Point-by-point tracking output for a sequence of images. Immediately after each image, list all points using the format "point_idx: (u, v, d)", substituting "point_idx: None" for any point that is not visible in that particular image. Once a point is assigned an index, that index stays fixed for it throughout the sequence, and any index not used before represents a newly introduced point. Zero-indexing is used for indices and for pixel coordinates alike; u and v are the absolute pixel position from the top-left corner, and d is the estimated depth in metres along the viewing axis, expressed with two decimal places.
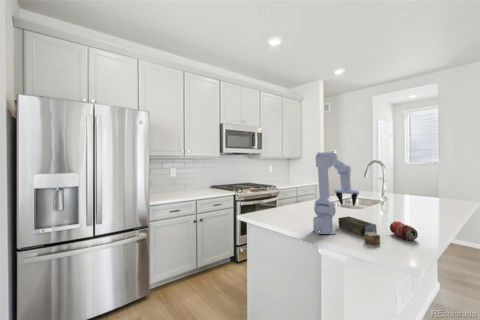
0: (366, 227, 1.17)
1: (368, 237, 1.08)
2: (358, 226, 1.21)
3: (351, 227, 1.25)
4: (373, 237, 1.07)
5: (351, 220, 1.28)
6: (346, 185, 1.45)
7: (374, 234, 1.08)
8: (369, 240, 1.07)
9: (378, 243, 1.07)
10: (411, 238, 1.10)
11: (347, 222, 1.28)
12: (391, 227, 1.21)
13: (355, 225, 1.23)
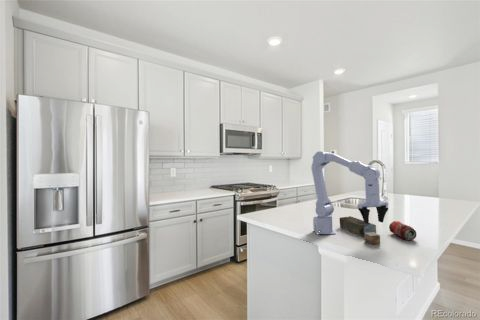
0: (365, 227, 1.17)
1: (368, 237, 1.08)
2: (357, 226, 1.21)
3: (351, 226, 1.26)
4: (373, 237, 1.07)
5: (351, 220, 1.28)
6: None
7: (374, 234, 1.08)
8: (369, 240, 1.07)
9: (378, 243, 1.07)
10: (410, 238, 1.10)
11: (347, 222, 1.28)
12: (390, 227, 1.21)
13: (354, 225, 1.23)
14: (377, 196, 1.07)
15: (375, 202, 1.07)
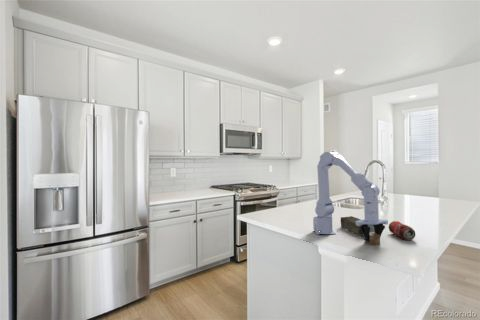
0: None
1: None
2: (357, 226, 1.21)
3: (351, 226, 1.26)
4: (373, 236, 1.07)
5: (352, 220, 1.29)
6: None
7: (374, 234, 1.08)
8: (369, 240, 1.07)
9: (378, 243, 1.07)
10: (409, 238, 1.11)
11: (347, 222, 1.29)
12: (389, 227, 1.21)
13: (354, 225, 1.23)
14: (375, 214, 1.06)
15: (373, 220, 1.06)
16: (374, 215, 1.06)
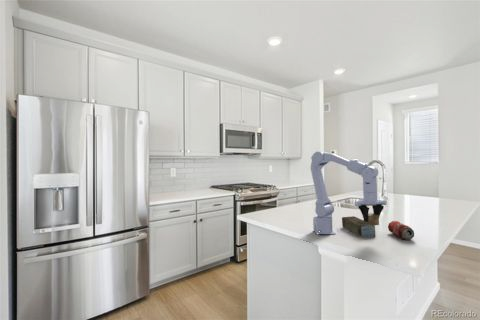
0: (362, 227, 1.18)
1: None
2: (356, 226, 1.22)
3: (351, 226, 1.26)
4: (372, 217, 1.07)
5: (352, 220, 1.29)
6: None
7: (373, 214, 1.09)
8: (368, 220, 1.08)
9: (377, 223, 1.07)
10: (407, 237, 1.11)
11: (348, 221, 1.29)
12: (389, 226, 1.22)
13: (354, 225, 1.24)
14: (374, 194, 1.07)
15: (372, 200, 1.07)
16: (373, 195, 1.07)
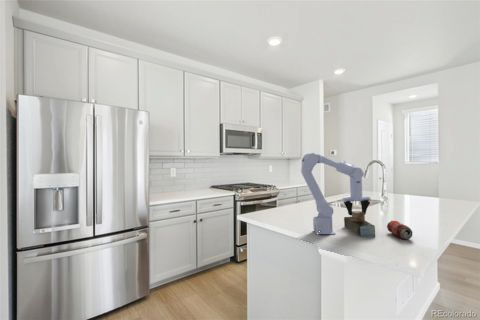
0: (361, 227, 1.18)
1: (354, 215, 1.26)
2: (356, 225, 1.22)
3: (351, 226, 1.27)
4: (358, 214, 1.24)
5: (353, 220, 1.29)
6: None
7: (359, 212, 1.25)
8: (355, 217, 1.25)
9: (363, 219, 1.24)
10: (406, 237, 1.12)
11: (349, 221, 1.30)
12: (388, 226, 1.22)
13: (354, 224, 1.24)
14: (359, 191, 1.23)
15: (357, 197, 1.23)
16: (358, 192, 1.23)
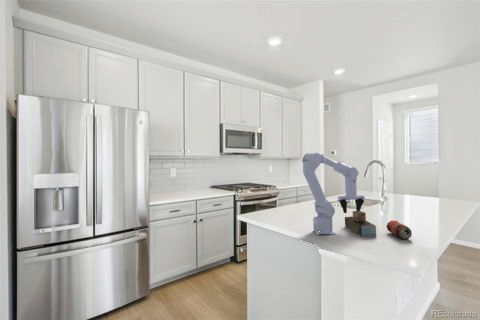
0: (362, 227, 1.18)
1: (355, 215, 1.26)
2: (357, 225, 1.22)
3: (352, 226, 1.27)
4: (359, 214, 1.24)
5: (354, 220, 1.29)
6: None
7: (360, 212, 1.26)
8: (356, 217, 1.25)
9: (364, 219, 1.25)
10: (405, 237, 1.12)
11: (350, 221, 1.30)
12: (387, 226, 1.23)
13: (355, 224, 1.24)
14: (354, 190, 1.29)
15: (352, 195, 1.29)
16: (353, 191, 1.29)
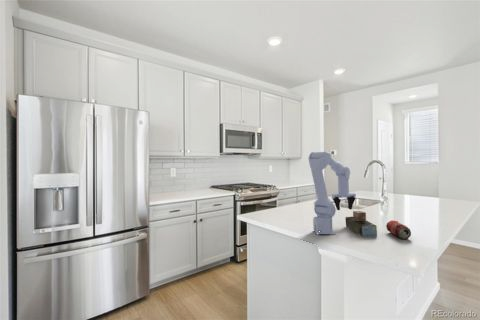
0: (363, 227, 1.18)
1: (355, 214, 1.26)
2: (357, 225, 1.22)
3: (353, 226, 1.27)
4: (360, 214, 1.25)
5: (355, 220, 1.29)
6: None
7: (361, 212, 1.26)
8: (356, 217, 1.25)
9: (364, 219, 1.25)
10: (404, 237, 1.12)
11: (350, 221, 1.30)
12: (387, 226, 1.23)
13: (355, 224, 1.24)
14: (346, 188, 1.37)
15: (345, 193, 1.37)
16: (345, 189, 1.37)
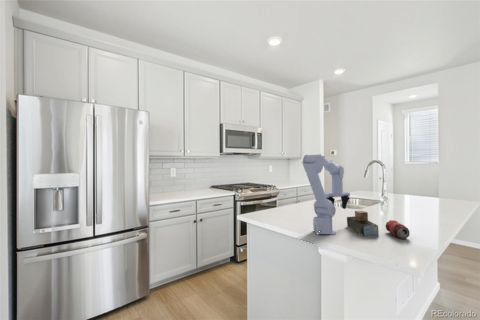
0: (365, 227, 1.18)
1: (357, 214, 1.27)
2: (359, 225, 1.22)
3: (354, 226, 1.27)
4: (361, 213, 1.25)
5: None
6: None
7: (363, 211, 1.26)
8: (358, 216, 1.26)
9: (366, 219, 1.25)
10: (403, 236, 1.13)
11: (352, 221, 1.30)
12: (386, 226, 1.23)
13: (357, 224, 1.24)
14: (340, 188, 1.34)
15: (339, 192, 1.34)
16: (339, 188, 1.34)
